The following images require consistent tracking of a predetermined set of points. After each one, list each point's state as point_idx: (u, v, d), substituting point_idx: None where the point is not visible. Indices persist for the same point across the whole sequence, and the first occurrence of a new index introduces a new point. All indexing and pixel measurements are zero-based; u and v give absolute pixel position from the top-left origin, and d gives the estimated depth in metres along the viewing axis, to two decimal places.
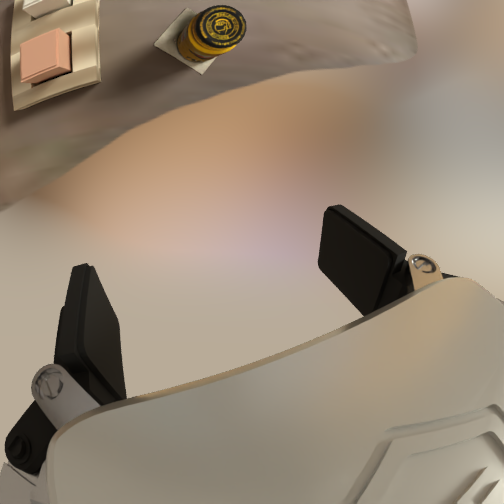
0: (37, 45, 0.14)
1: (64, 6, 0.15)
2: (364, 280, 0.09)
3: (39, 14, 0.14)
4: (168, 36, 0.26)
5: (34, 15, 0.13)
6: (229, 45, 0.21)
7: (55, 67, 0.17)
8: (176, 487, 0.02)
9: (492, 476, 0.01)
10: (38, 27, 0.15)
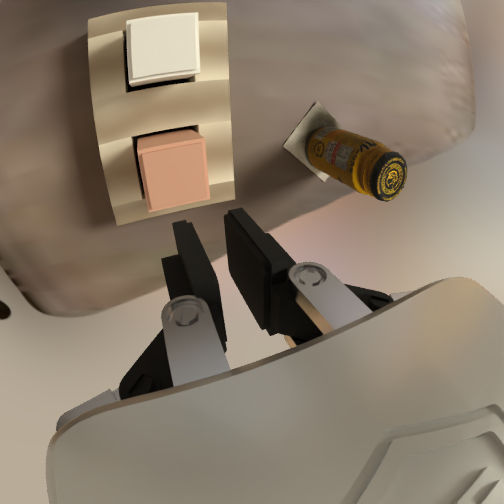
0: (173, 161, 0.18)
1: (179, 78, 0.19)
2: (253, 290, 0.09)
3: (141, 84, 0.18)
4: (298, 136, 0.30)
5: (134, 85, 0.17)
6: None
7: (203, 198, 0.21)
8: (176, 487, 0.02)
9: (492, 476, 0.01)
10: (142, 106, 0.19)
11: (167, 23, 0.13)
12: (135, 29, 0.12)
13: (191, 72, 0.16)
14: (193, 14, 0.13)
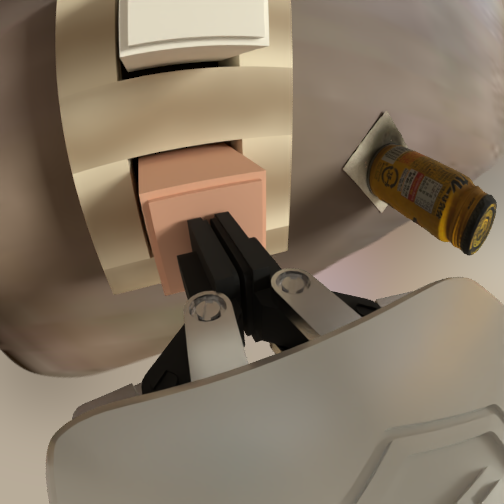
0: (208, 215, 0.10)
1: (212, 59, 0.11)
2: None
3: (144, 65, 0.10)
4: (361, 156, 0.22)
5: (131, 67, 0.09)
6: (475, 250, 0.17)
7: None
8: (176, 487, 0.02)
9: (492, 476, 0.01)
10: (146, 105, 0.11)
11: None
12: None
13: (252, 42, 0.07)
14: None
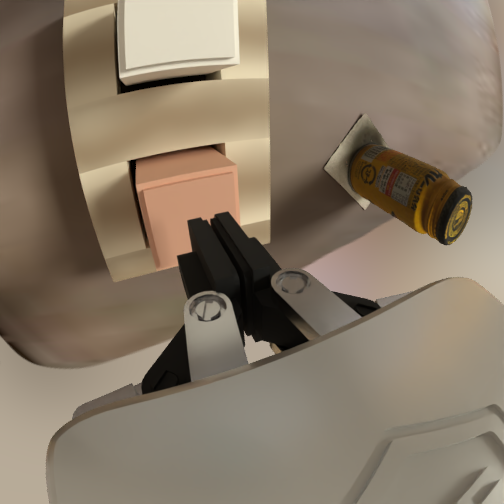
0: (190, 201, 0.13)
1: (198, 73, 0.13)
2: None
3: (140, 81, 0.12)
4: (341, 156, 0.24)
5: (129, 82, 0.11)
6: None
7: None
8: (176, 487, 0.02)
9: (492, 476, 0.01)
10: (141, 115, 0.13)
11: None
12: None
13: (225, 62, 0.09)
14: None
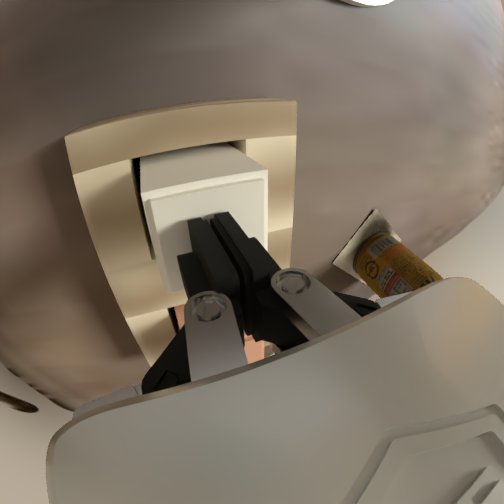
0: None
1: None
2: None
3: None
4: (349, 250, 0.28)
5: None
6: None
7: None
8: (176, 487, 0.02)
9: (492, 476, 0.01)
10: None
11: (217, 200, 0.10)
12: (162, 215, 0.10)
13: None
14: (260, 173, 0.11)
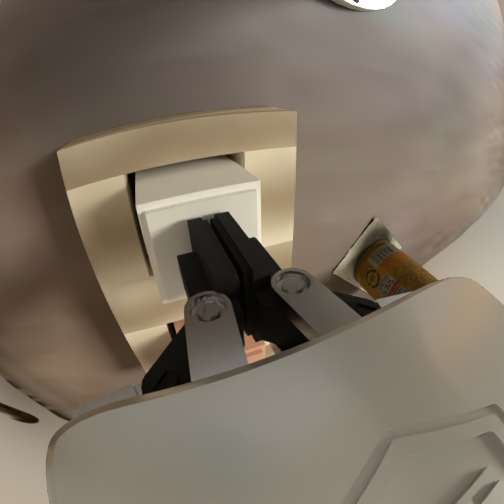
0: None
1: None
2: None
3: None
4: (349, 259, 0.27)
5: None
6: None
7: None
8: (176, 487, 0.02)
9: (492, 476, 0.01)
10: None
11: (211, 211, 0.11)
12: (156, 227, 0.10)
13: None
14: (253, 184, 0.11)
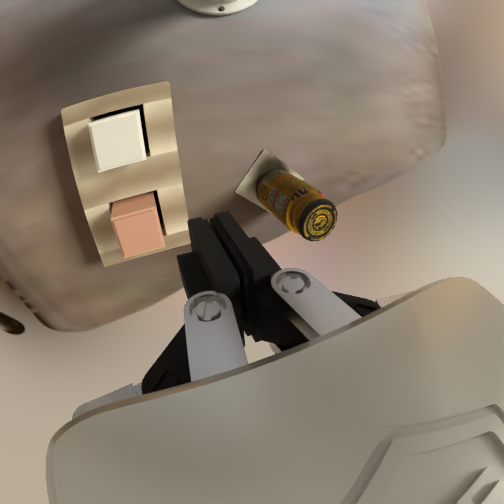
0: (135, 225, 0.26)
1: None
2: None
3: None
4: (248, 182, 0.38)
5: None
6: None
7: (161, 247, 0.29)
8: (176, 487, 0.02)
9: (492, 476, 0.01)
10: (112, 180, 0.26)
11: (117, 124, 0.21)
12: (95, 131, 0.20)
13: (140, 160, 0.24)
14: (136, 112, 0.21)
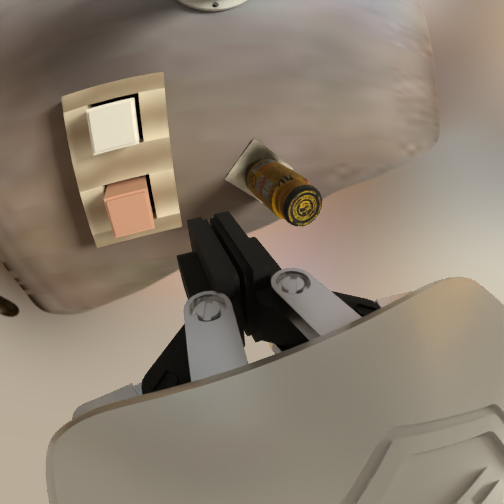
0: (126, 205, 0.27)
1: None
2: None
3: None
4: (237, 170, 0.38)
5: None
6: (307, 223, 0.33)
7: (150, 228, 0.30)
8: (176, 487, 0.02)
9: (492, 476, 0.01)
10: (107, 163, 0.27)
11: (113, 110, 0.21)
12: (92, 116, 0.21)
13: (133, 144, 0.24)
14: (130, 99, 0.22)
